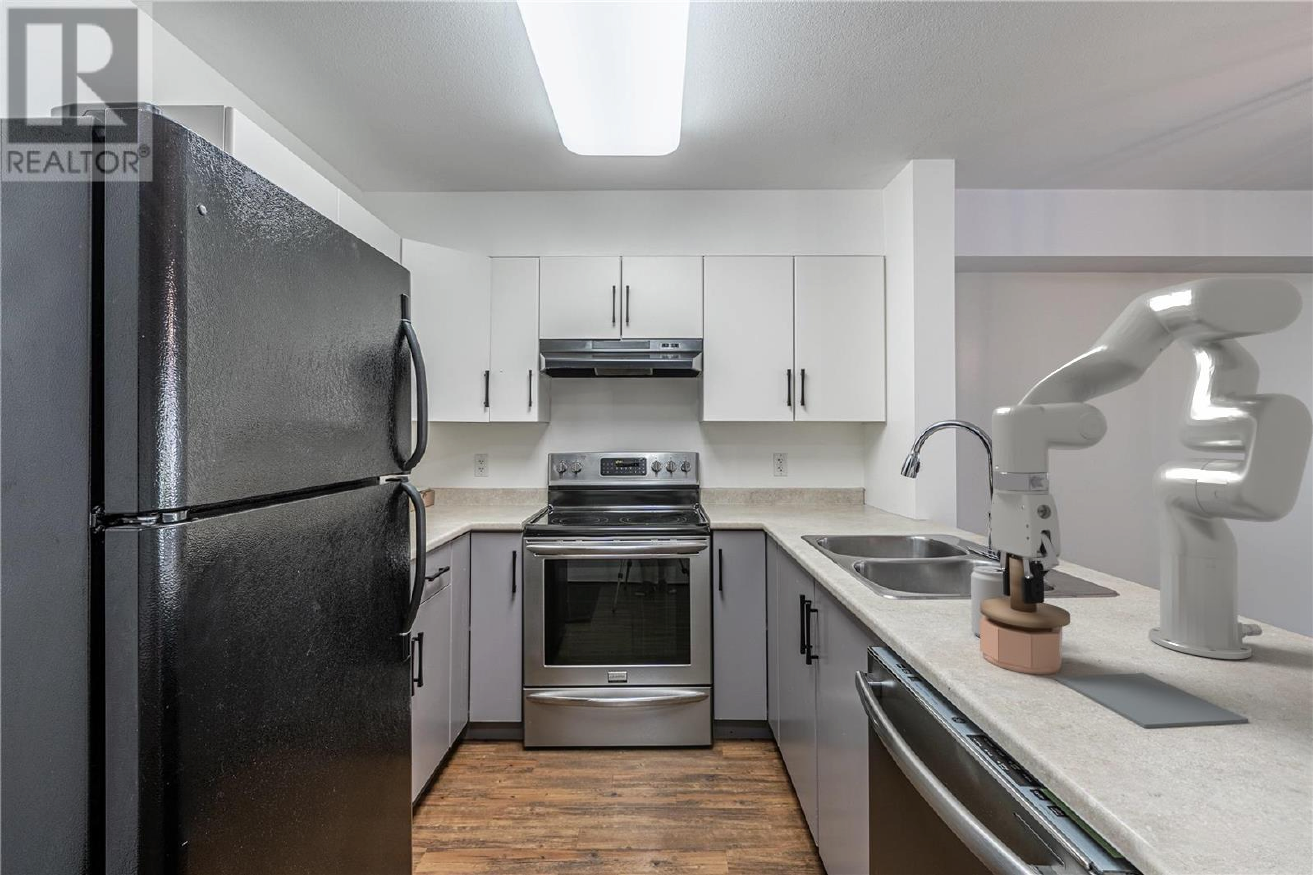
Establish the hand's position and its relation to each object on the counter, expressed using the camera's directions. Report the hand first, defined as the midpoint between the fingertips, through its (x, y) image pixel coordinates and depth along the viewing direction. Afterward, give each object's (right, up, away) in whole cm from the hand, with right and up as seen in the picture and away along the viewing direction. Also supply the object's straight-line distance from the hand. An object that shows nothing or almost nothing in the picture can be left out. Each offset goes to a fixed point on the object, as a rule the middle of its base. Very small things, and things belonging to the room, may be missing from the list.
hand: (1023, 597), depth 91 cm
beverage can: (+2, -10, +11) cm, 15 cm away
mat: (+8, -10, -13) cm, 18 cm away
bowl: (0, -10, 0) cm, 10 cm away
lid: (0, -3, 0) cm, 3 cm away
